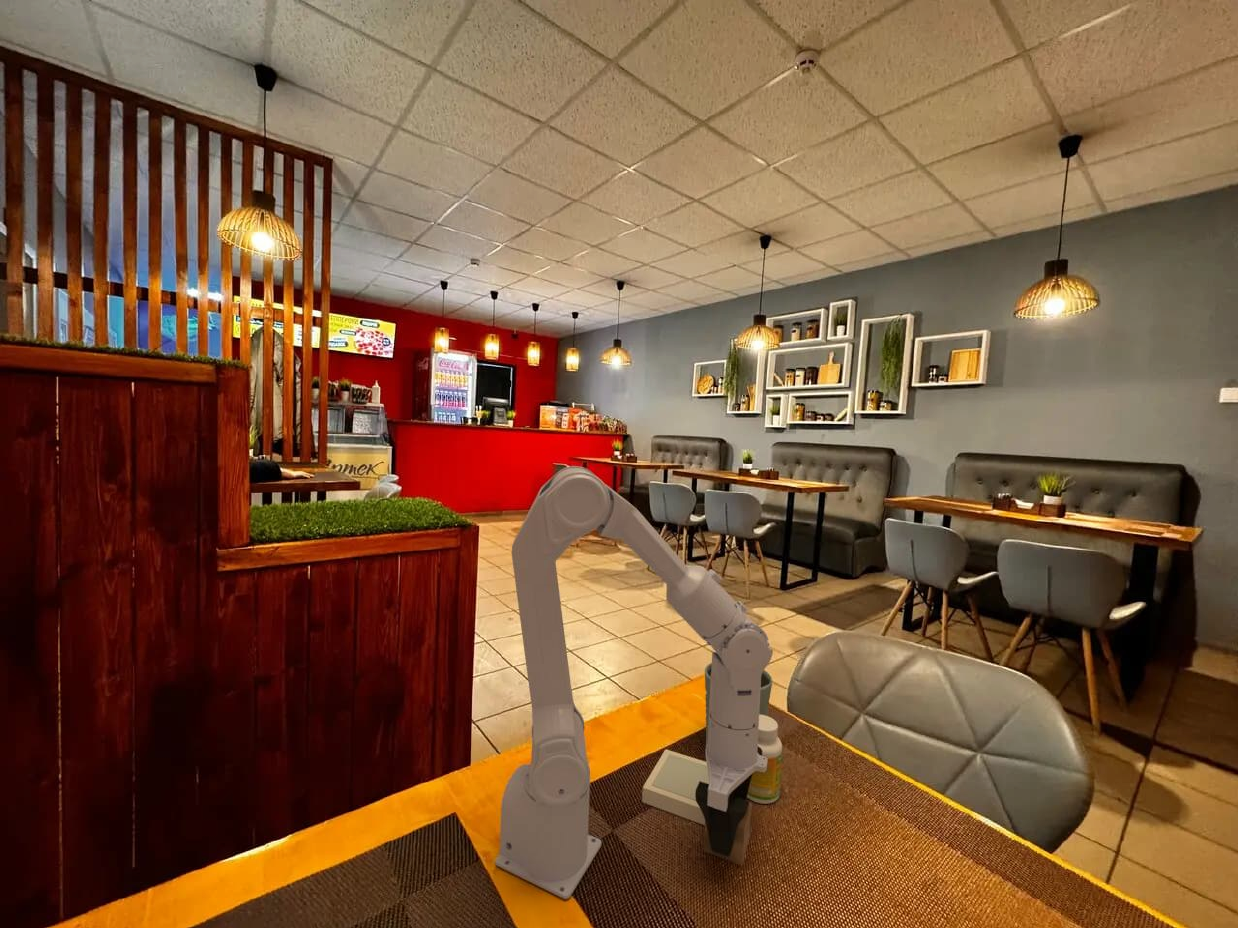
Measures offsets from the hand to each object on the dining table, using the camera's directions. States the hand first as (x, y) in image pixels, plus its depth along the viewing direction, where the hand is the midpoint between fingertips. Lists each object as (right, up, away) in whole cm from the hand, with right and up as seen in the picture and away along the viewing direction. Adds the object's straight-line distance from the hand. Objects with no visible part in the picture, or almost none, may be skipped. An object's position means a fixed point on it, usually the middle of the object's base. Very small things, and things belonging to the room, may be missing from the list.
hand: (728, 827), depth 58 cm
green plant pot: (+5, -2, +18) cm, 19 cm away
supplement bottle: (+6, -2, +9) cm, 11 cm away
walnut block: (0, -2, 0) cm, 2 cm away
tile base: (-4, -1, +8) cm, 10 cm away
